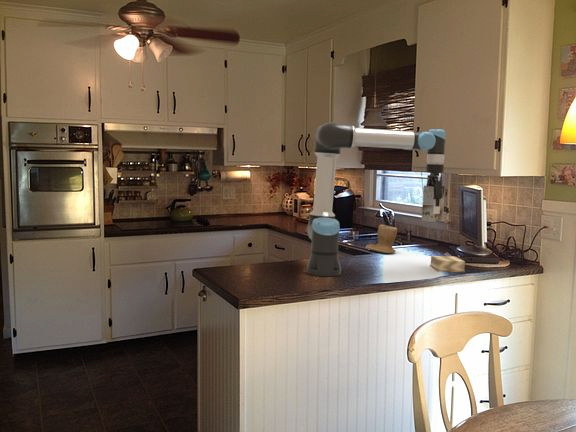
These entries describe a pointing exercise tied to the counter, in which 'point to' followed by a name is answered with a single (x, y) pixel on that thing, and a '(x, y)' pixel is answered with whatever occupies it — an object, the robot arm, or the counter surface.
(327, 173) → the robot arm
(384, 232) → the tan boot
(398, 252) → the counter surface
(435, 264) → the maple riser
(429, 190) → the coffee box
